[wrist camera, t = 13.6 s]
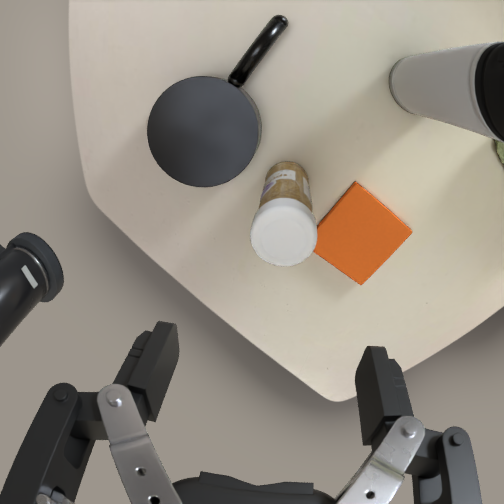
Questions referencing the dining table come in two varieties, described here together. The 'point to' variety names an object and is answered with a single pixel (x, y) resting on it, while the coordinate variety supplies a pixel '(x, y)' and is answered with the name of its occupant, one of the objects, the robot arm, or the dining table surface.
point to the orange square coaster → (359, 234)
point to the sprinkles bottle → (284, 217)
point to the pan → (210, 121)
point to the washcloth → (500, 150)
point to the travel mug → (455, 87)
